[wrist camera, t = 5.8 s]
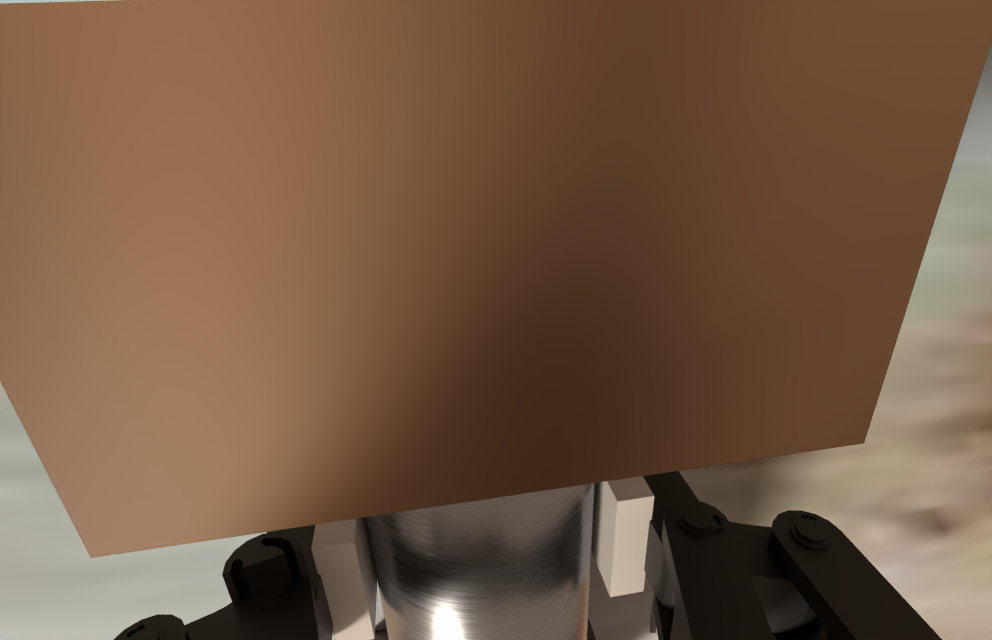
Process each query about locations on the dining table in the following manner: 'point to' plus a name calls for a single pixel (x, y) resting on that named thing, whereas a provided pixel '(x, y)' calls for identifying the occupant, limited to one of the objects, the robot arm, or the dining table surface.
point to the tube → (487, 567)
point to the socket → (454, 243)
